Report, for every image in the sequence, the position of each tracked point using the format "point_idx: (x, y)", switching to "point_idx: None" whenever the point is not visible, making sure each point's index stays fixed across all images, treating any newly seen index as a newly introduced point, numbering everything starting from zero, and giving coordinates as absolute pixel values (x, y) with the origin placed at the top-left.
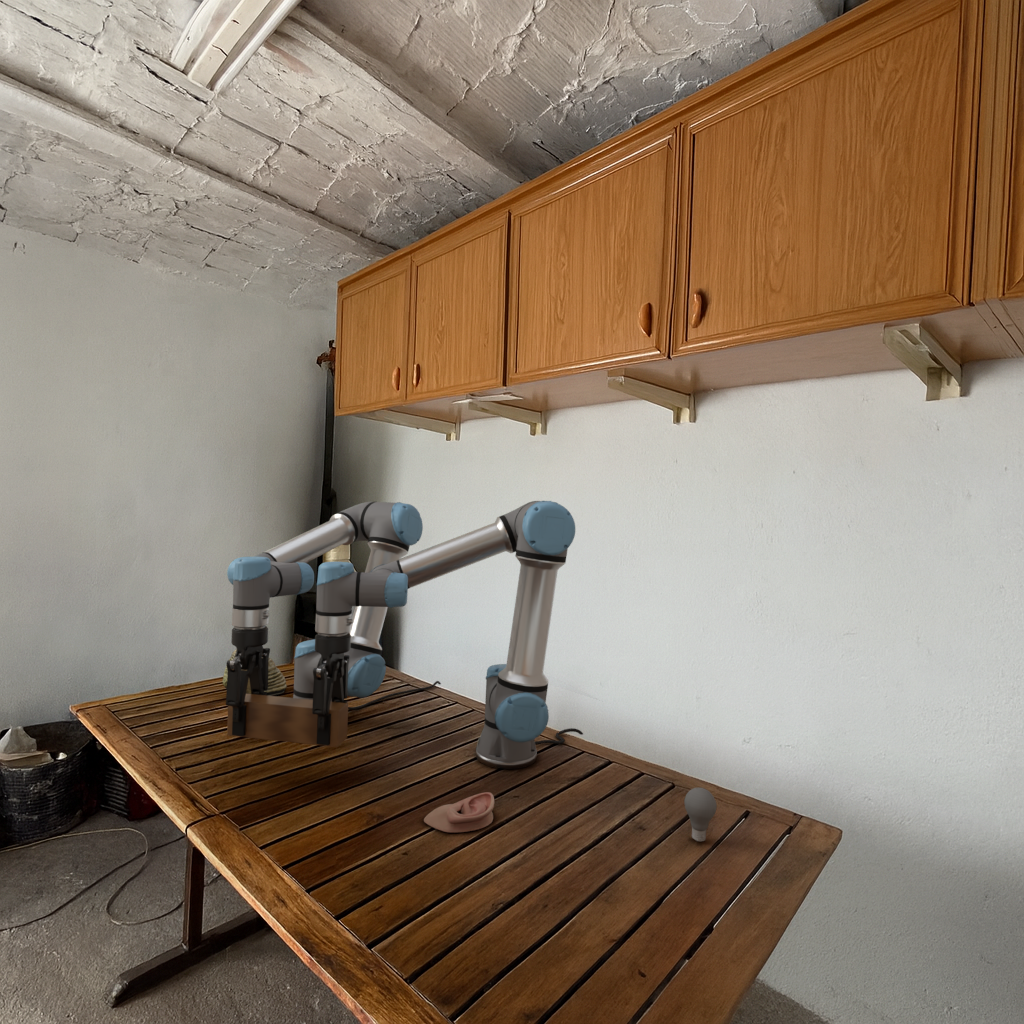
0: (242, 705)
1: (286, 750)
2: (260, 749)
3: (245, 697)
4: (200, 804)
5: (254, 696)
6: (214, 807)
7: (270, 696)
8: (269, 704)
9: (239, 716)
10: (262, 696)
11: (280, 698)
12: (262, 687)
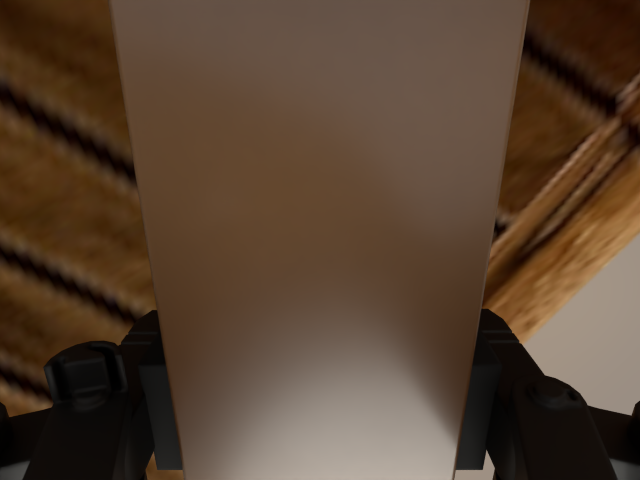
0: (547, 383)
1: (39, 169)
2: (81, 271)
3: (321, 473)
4: (551, 218)
5: (256, 411)
6: (571, 160)
7: (176, 236)
8: (519, 57)
9: (493, 333)
10: (217, 332)
11: (204, 25)
12: (52, 461)
